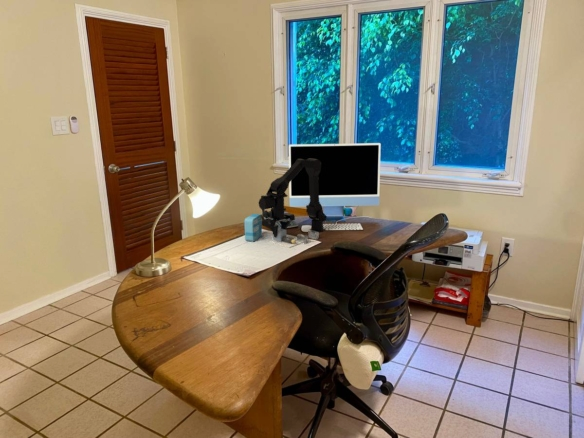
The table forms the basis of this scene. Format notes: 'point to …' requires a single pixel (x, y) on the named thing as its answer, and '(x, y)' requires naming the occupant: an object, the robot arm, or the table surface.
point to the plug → (283, 237)
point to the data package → (253, 227)
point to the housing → (311, 234)
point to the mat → (285, 243)
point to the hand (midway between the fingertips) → (278, 236)
